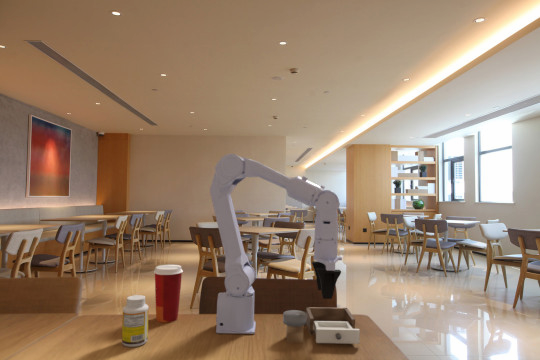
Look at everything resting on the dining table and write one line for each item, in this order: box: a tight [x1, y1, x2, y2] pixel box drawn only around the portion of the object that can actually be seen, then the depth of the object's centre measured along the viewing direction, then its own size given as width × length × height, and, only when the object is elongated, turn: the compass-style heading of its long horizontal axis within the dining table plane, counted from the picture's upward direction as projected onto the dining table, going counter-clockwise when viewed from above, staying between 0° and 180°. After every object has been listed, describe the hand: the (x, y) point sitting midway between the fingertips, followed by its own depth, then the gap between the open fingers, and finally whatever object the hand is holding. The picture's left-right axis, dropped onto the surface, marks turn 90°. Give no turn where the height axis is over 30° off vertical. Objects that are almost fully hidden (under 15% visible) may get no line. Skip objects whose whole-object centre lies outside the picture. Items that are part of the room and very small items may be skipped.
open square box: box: [305, 306, 356, 336], centre depth 96 cm, size 11×9×4 cm
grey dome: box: [282, 309, 307, 327], centre depth 89 cm, size 6×6×2 cm
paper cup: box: [153, 264, 184, 324], centre depth 101 cm, size 8×8×14 cm
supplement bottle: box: [121, 294, 149, 348], centre depth 85 cm, size 6×6×10 cm
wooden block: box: [286, 325, 304, 343], centre depth 88 cm, size 4×4×4 cm
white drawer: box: [314, 321, 361, 345], centre depth 89 cm, size 10×10×3 cm
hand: (324, 294), depth 92 cm, fingers open, 7 cm apart
